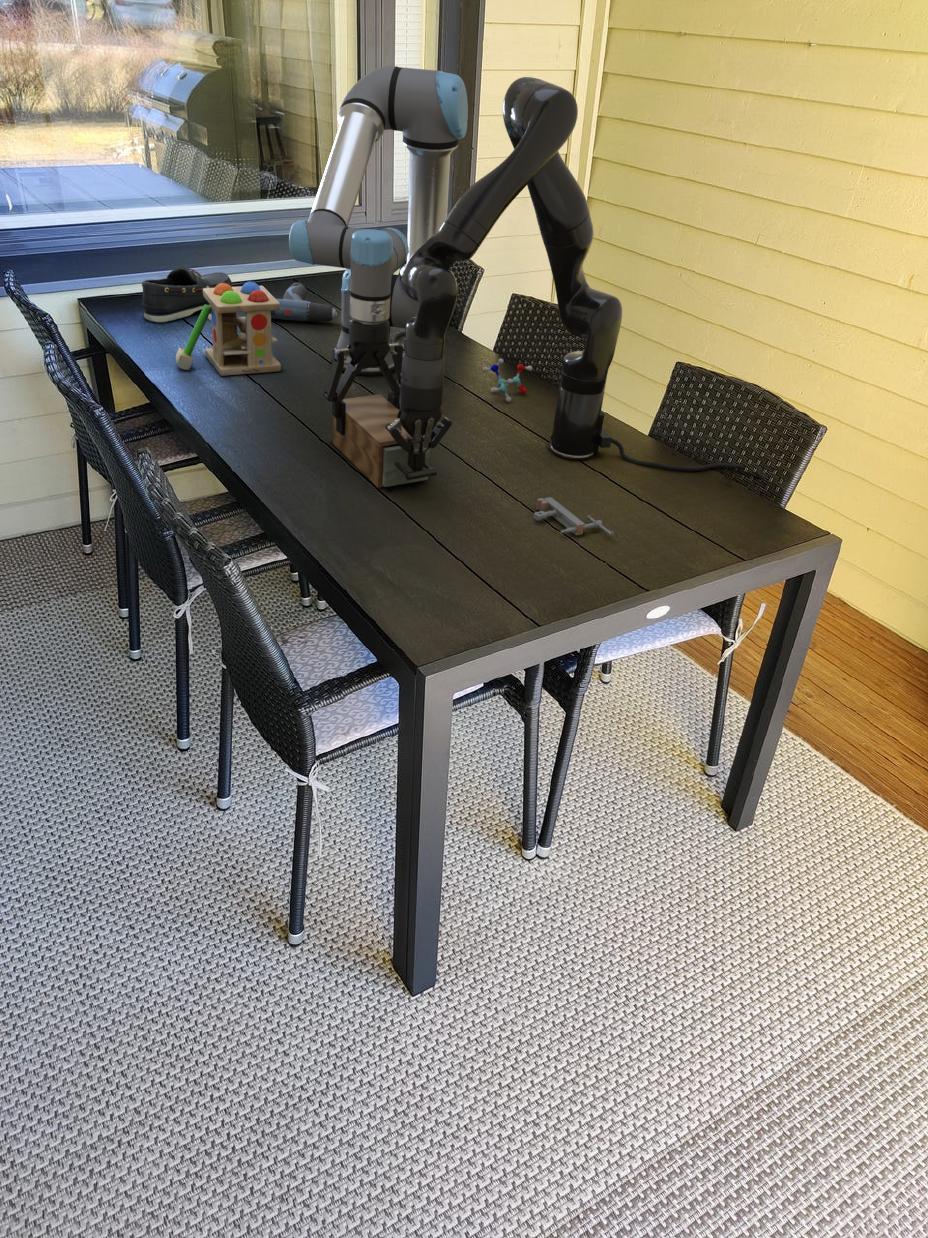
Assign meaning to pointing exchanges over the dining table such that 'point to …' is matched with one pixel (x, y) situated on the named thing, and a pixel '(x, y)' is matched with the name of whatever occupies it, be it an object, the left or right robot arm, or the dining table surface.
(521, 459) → the dining table surface
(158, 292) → the boat shoe
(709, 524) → the dining table surface
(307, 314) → the power drill
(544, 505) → the clamp
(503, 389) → the molecular model
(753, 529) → the dining table surface
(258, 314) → the pounding bench toy
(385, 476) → the drawer
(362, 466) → the cabinet
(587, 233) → the right robot arm
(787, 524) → the dining table surface
